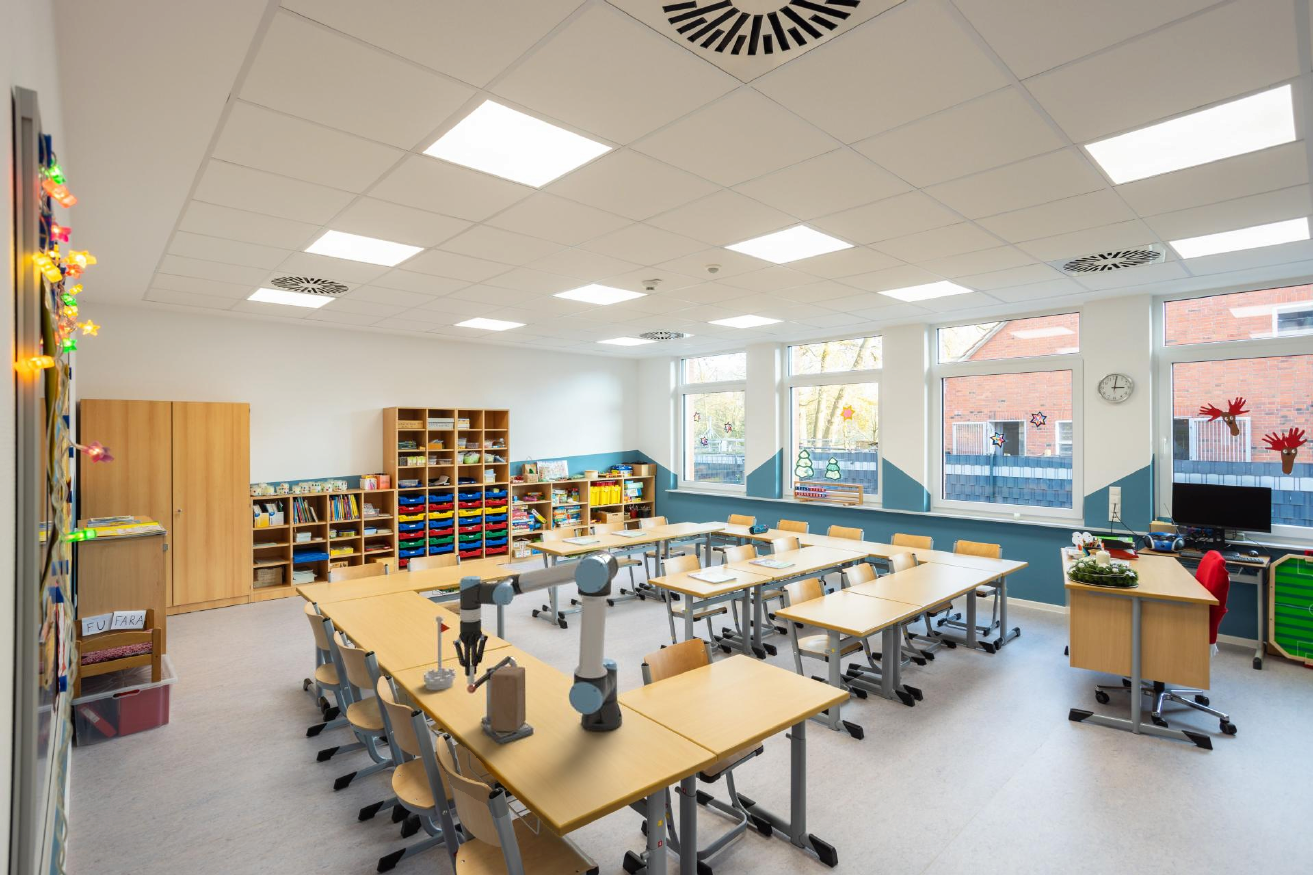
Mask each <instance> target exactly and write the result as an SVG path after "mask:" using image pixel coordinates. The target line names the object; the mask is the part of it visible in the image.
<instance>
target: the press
mask: <svg viewBox="0 0 1313 875" xmlns="http://www.w3.org/2000/svg"><path fill="white" fill-rule="evenodd" d="M493 667H494V666H492V667H487V668H486V669H485V670H486V672H485V674H486V673H487V672H488V671H490V670H491V669H492V668H493ZM496 670H497V669H496ZM496 670H493V671H490V676H491V674H492V673H494V672H495V671H496ZM485 683H486V716H484V717H481V722H482V723H484V725H482V726H481V729H482V732H483V733H484V734H485V735H486V736H488V737H489V738H490V739H491V740H493V741H494V742H496V743H497V744H498V745H500V746H501V745H505V744H507V743H510V742H513V741H517V740H519V739H522V738H524V737H525V738H526V737H528V736H530V735H533V734H534V727H532V726H531V725H530V724H528V723H527V722H526V721H525V722H524V723H523V724H522V725H521V727H520V728H519V729H518V730H517V731H516V732H509V731H494V730H491V715H490V678H489V679H488V680H487V681H485Z"/></svg>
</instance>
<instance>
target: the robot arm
mask: <svg viewBox="0 0 1313 875" xmlns="http://www.w3.org/2000/svg"><path fill="white" fill-rule="evenodd" d="M618 572H619V562H618V559H617V558H616V556H615V555H614V554H613V553H612V552H609V551H608V550H598V551H596V552H594V553H591V554H588V555H584V556H582V558H581V559H579V560H575V561H571V562H567V563H562V564H557V565H552V566H548V567H544V568H541V569H540V568H539V569H536V570H531V571H526V572H524V573H520V574H518V573H517V574H516V573H515V574H514V573H513V574H511V575H508V576H506V577H505V578H503V579H501V580H498V581H496V582H494V583H493V582H491V583H490V582H489V583H488V582H482V578H481V577H480V576H478V575H469V576H464V577H462V578H461V579H460V580H459V581H460V582H459V619H460V621H459V635H458V638H457V639H456V640H453V641H452V644H453V645H454V648H455V651H456V656H457V659H458V663H459V666H461V667H463V668H464V674H465V676H466V677H467V680H466V684H468V686H469V685H474V683H475V675H477V667H478V666H479V664H481V663H482V662H483V656H484V652H485V647H486V643H487V641H488V639H489V636H488V635H486V634H485V633H483V631H482V619H481V618H482V605H491V606H494V605H495V606H500V607H501V606H508V605H510V604H511V603H512V601H513V600H514V597H516V596H520V595H524V594H527V593H532V592H536V591H541V590H546V589H550V588H556V587H559V586H560V587H561V586H563V585H568V584H572V583H575V584H576V586H577V595H578V596H579V597H580V598H581V609H580V631H579V632H580V633H579V653H578V654H579V656H578V666H576V667H575V669H574V670H573V671H574V672H573V685H572V686H571V688H570V690H569V693H568V699H569V703H570V705H571V707H572V708H573V709H574V710H575V711H576V712H578V713H580V714H581V717H580V720H581V721H580V722H581V723H580V725H581V726H582V728H584V729H585V730H588V731H591V732H607V731H611V730H612V731H613V730H614V729H615V730H616V729H617V728H619V727H620V726H621V725H622V724H623V715H622V712H621V709H620V706H619V702H618V666H617V665H618V664H617V662H616V661H615V660H614V659H610V658H605V639H606V638H605V635H606V634H605V633H606V614H607V613H606V612H607V599H608V598H609V597H610V596H611V594H612V581H613V580H614V579H615V577H616V576H617V574H618ZM478 643H479V644H478ZM462 644H463V648H464V651H463V649H462V646H461V645H462ZM463 652H464V653H463Z"/></svg>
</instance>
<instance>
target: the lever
mask: <svg viewBox="0 0 1313 875" xmlns="http://www.w3.org/2000/svg"><path fill="white" fill-rule="evenodd" d="M507 665H508V666H511V667H518V664H517V662H516V661H515V658H514V656H513V655H511V656H509V655H508V656H506V657H505V658H503V659H502V660H501V661H499V662H498V663H497V664H495V666H492V667H493V668H492V667H491V668H492V669H491V670H490V671H493V670H496V669H498V668H499V667H501V666H507ZM490 671H488V672H487V673H486V672H485V673H484V674H483V675H482V676H481V677H480V678H478V679H476V681H474V685H469V684H468V686H467V687H466V690H467V692H468V693H469V694H475V692H476V690H477V689H478V688H479V687H480V686H482V685H483V684H484V683H486V681H487V680H488V679H489V678H490Z"/></svg>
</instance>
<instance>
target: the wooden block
mask: <svg viewBox="0 0 1313 875" xmlns="http://www.w3.org/2000/svg"><path fill="white" fill-rule="evenodd" d="M526 708H527V707H526V667H523V666H517V667H511V666H510V665H508V666H507V665H505V666H501V667H499V668H498V669H497V670H496V671H495V672H494V673H492V674H491V676H490V715H491V730H494V731H509V732H516V731H517V730H518V729H519V728H520V727H521V725H522V724H523V723H524V722H525V723H526V719H527V718H526V716H527V714H526V712H527V710H526Z"/></svg>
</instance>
